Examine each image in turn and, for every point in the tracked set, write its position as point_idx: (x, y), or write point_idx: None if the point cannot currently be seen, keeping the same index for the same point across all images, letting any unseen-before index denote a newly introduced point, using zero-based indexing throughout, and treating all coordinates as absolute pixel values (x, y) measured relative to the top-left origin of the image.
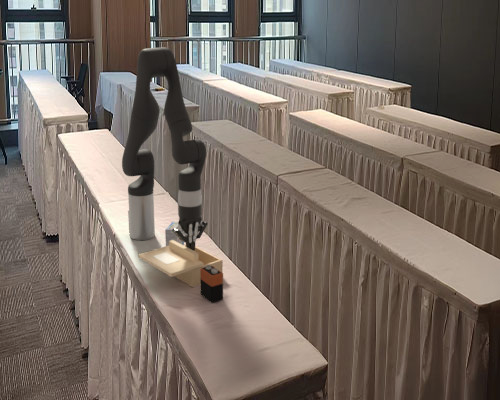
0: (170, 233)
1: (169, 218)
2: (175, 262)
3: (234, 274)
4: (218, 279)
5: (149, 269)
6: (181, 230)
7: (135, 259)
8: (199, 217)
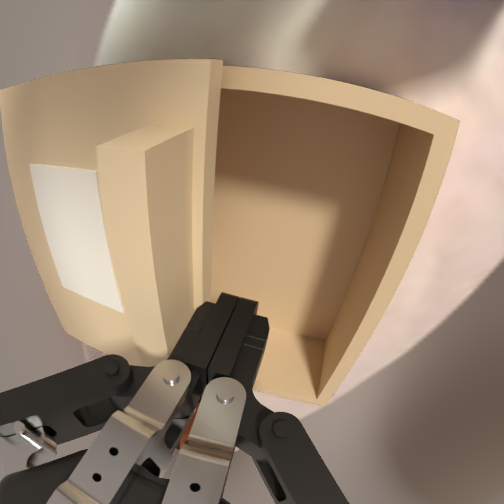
0: None
1: None
2: (99, 305)
3: (375, 358)
4: None
5: (144, 41)
6: (50, 456)
7: None
8: None
